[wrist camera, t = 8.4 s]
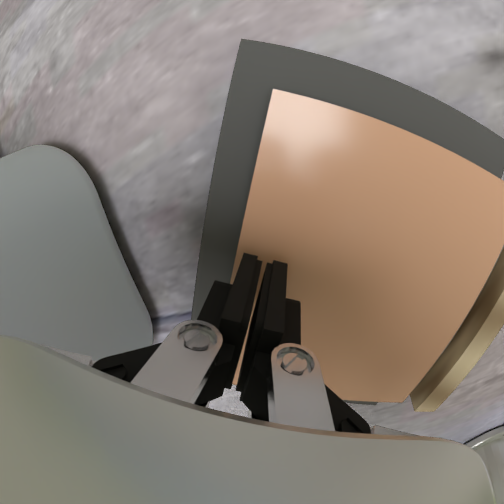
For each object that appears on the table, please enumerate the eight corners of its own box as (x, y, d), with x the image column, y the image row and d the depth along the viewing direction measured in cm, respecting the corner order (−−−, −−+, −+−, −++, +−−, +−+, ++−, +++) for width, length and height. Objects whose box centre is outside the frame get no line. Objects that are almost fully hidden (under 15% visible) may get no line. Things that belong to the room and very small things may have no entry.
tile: (523, 193, 9) (273, 88, 9) (402, 402, 15) (210, 379, 15) (508, 186, 10) (273, 91, 10) (398, 388, 16) (214, 363, 16)
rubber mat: (373, 394, 18) (375, 405, 17) (190, 359, 18) (185, 370, 17) (499, 140, 10) (510, 143, 9) (245, 44, 10) (241, 38, 9)
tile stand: (426, 389, 18) (434, 411, 16) (391, 387, 18) (397, 411, 16) (538, 188, 10) (561, 201, 8) (506, 165, 10) (531, 176, 9)
